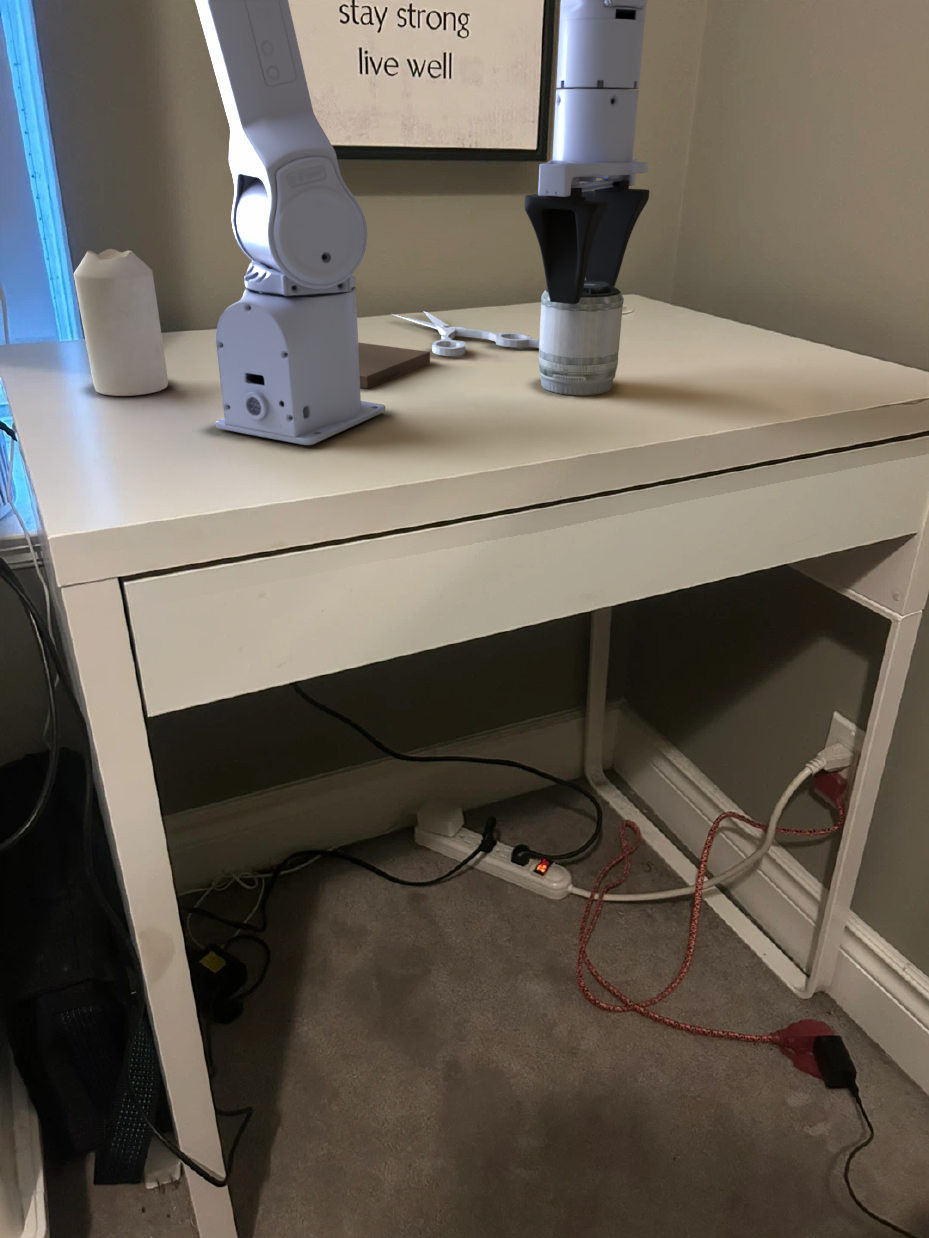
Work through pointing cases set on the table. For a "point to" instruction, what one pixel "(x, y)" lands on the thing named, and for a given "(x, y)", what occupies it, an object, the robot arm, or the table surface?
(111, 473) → the table surface
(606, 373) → the camera lens
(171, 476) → the table surface
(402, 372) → the walnut board
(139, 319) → the candle
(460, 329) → the scissors
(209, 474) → the table surface
